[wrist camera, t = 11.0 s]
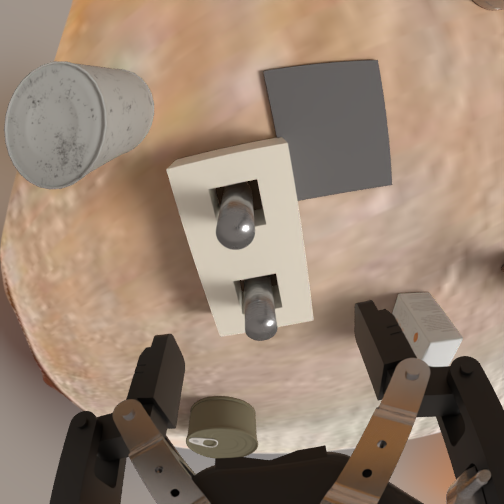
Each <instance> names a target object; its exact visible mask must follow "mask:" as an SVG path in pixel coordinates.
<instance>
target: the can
mask: <svg viewBox="0 0 504 504" xmlns="http://www.w3.org/2000/svg"><path fill="white" fill-rule="evenodd" d="M186 444H187V446H188V447H189V448H190V449H191V450H192V451H194V452H196V453H198V454H200V455H203V456H206V457H210V458H233V457H244V456H247V455H249V454H251V453H253V452H254V451H255V450H256V449H257V447H258V441H257V435H256V419H255V410H254V408H253V407H252V406H251V405H250V404H248V403H247V402H245V401H243V400H240V399H237V398H233V397H227V396H213V397H207V398H204V399H201V400H199V401H197V402H196V403H195V404H194V405H193V406H192V408H191V414H190V421H189V429H188V436H187V438H186Z"/></svg>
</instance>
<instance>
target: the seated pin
mask: <svg viewBox="0 0 504 504" xmlns="http://www.w3.org/2000/svg"><path fill="white" fill-rule="evenodd" d="M244 303H245V332H246V334H247V336H248V337H250V338H251V339H254V340H258V341H262V340H267V339H270V338H271V337H273V336H274V335H275V334H276V332H277V321H276V314H275V307H274V300H273V293H272V286H271V279H270V275H265V276H259V277H254V278H249V279H244Z"/></svg>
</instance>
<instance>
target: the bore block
mask: <svg viewBox="0 0 504 504" xmlns="http://www.w3.org/2000/svg"><path fill="white" fill-rule="evenodd" d="M166 170H167V174H168V177H169V181H170V184H171V188H172V191H173V194H174V198H175V201H176V204H177V208H178V211H179V214H180V218H181V221H182V224H183V227H184V231H185V234H186V237H187V240H188V243H189V246H190V250H191V253H192V256H193V259H194V262H195V265H196V268H197V271H198V274H199V277H200V280H201V283H202V286H203V289H204V292H205V295H206V298H207V301H208V303H209V306H210V309H211V312H212V315H213V318H214V320H215V323H216V326H217V329H218V332H219V334H220V337H222V336H229V335H235V334H241V333H246V332H245V303H244V291H243V292H242V289H241V285H240V281H239V280H243V279H249V278H254V277H259V276H265V275H270V274H275V273H276V276H277V281H278V285H275V286H272V293H273V300H274V307H275V314H276V321H277V327H282V326H287V325H292V324H297V323H302V322H307V321H312V320H314V319H313V310H312V302H311V294H310V285H309V278H308V270H307V262H306V255H305V248H304V241H303V234H302V227H301V220H300V214H299V207H298V201H297V194H296V188H295V182H294V176H293V170H292V165H291V159H290V153H289V148H288V143H287V142H286V141H285V140H284V139H283V138H282V137H280V138H272V139H266V140H261V141H256V142H251V143H246V144H241V145H236V146H232V147H227V148H222V149H218V150H214V151H209V152H205V153H201V154H197V155H193V156H189V157H185V158H181V159H177V160H175V161H174V162H173V163H172V164H171V165H170V166H169V167H168V168H167V169H166ZM255 179H257V181H258V186H259V190H260V195H261V200H262V205H263V209H257V210H253V211H254V224H255V236H254V239H253V241H252V242H251V243H250V244H249V245H248V246H247V247H245V248H243V249H239V250H232V249H228V248H226V247H224V246H223V245H222V244H221V243H220V242H219V241H218V239H217V237H216V226H217V221H218V216H219V211H220V205H219V201H218V197H217V193H216V189H215V188H217V187H222V186H226V185H231V184H236V183H241V182H245V181H250V180H255Z"/></svg>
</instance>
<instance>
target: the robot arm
mask: <svg viewBox="0 0 504 504" xmlns="http://www.w3.org/2000/svg"><path fill="white" fill-rule="evenodd" d="M473 1H474V2H475V3H476V4H478V5H479V6H481V7H482V8H485V9H487V10H492V11H493V10H502V9H504V0H473ZM354 330H355V338H356V342H357V345H358V347H359V350H360V353H361V355H362V358H363V361H364V363H365V366H366V369H367V372H368V374H369V377H370V380H371V383H372V385H373V388H374V391H375V394H376V397H377V400H382V401H381V403H380V405H379V407H378V408H376V409H375V411H374V413H373V415H372V417H371V419H370V421H369V423H368V425H367V427H366V429H365V431H364V433H363V435H362V437H361V438H360V440H359V442H358V444H357V446H356V448H355V450H354V451H353V453H352V455H351V457H350V456H348V455H345V454H341V453H336V452H326V446H320V447H314V448H309V449H303V450H297V451H295V452H292V453H289V454H287V455H284V456H281V457H279V458H276V459H273V460H261V459H254V458H246V457H233V458H216V459H215V465H214V466H211V467H209V468H206V469H204V470H202V471H201V472H199V473H197V474H195V473H194V472H193V471H192V469H191V468H190V467H189V466H188V465H187V463H186V462H185V461H184V459H183V458H182V457H181V455H180V454H179V453H178V451H177V450H176V449H175V447H174V446H173V444H172V443H171V442H170V440H169V439H168V437H167V436H166V431H167V429H172V428H176V423H177V417H178V410H179V403H180V397H181V391H182V385H183V379H184V373H185V362H184V358H183V355H182V353H181V351H180V349H179V347H178V345H177V343H176V341H175V339H174V336H173V335H172V334H164V335H156V336H154V339H153V342H152V345H151V347H147V348H146V349H145V350H144V351H143V352H142V354H141V355H140V357H139V360H138V363H137V367H136V369H135V374H134V376H133V379H132V382H131V386H130V389H129V393H128V396H127V399H126V400H124V401H122V402H121V403H119V404H118V405H117V406H116V407H115V409H114V411H113V413H111V414H107V415H104V416H100V417H96V416H95V415H94V414H93V413H92V412H90V411H83V412H80V413H78V414H77V415H75V416H74V417H73V419H72V420H71V423H70V426H69V429H68V432H67V436H66V439H65V443H64V446H63V450H62V454H61V457H60V462H59V466H58V469H57V473H56V477H55V481H54V485H53V490H52V495H51V500H50V504H120V502H121V494H122V486H123V479H124V472H125V465H126V458H127V457H129V458H130V460H131V462H132V463H133V465H134V467H135V469H136V470H137V472H138V474H139V475H140V477H141V479H142V481H143V482H144V484H145V486H146V487H147V489H148V491H149V492H150V494H151V495H152V497H153V498H154V500H155V501H156V503H157V504H423V503H422V502H420V501H418V500H417V499H415V498H414V497H412V496H410V495H409V494H407V493H406V492H404V491H403V490H401V489H399V488H398V487H396V486H395V485H393V484H392V483H390V482H389V480H390V478H391V476H392V474H393V471H394V469H395V467H396V465H397V463H398V461H399V458H400V456H401V454H402V452H403V449H404V447H405V445H406V442H407V440H408V437H409V435H410V432H411V430H412V427H413V425H414V422H415V419H416V417H433V416H436V418H437V421H438V424H439V427H440V430H441V433H442V436H443V439H444V442H445V445H446V448H447V451H448V454H449V457H450V460H451V463H452V467H453V470H454V474H455V477H456V481H454V482H453V483H452V484H451V486H450V487H449V489H448V491H447V495H446V500H447V504H504V410H503V408H502V405H501V403H500V401H499V399H498V397H497V395H496V393H495V391H494V389H493V387H492V385H491V383H490V381H489V380H488V378H487V376H486V374H485V372H484V370H483V368H482V367H481V365H480V363H479V362H478V361H477V360H476V359H474V358H472V357H468V356H462V357H458V358H456V359H455V360H454V361H453V362H452V364H451V366H444V367H432V366H428V364H427V363H426V362H424V361H423V360H421V359H418V358H417V357H416V355H415V353H414V351H413V349H412V348H411V346H410V344H409V342H408V340H407V338H406V336H405V335H404V333H403V332H402V329H401V327H400V326H399V324H398V322H397V320H396V318H395V316H394V315H393V314H391V313H390V312H389V311H387V310H386V309H383V310H379V311H378V310H377V308H376V306H375V304H374V302H373V301H372V300H370V301H365V302H361V303H356V304H355V327H354Z"/></svg>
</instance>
